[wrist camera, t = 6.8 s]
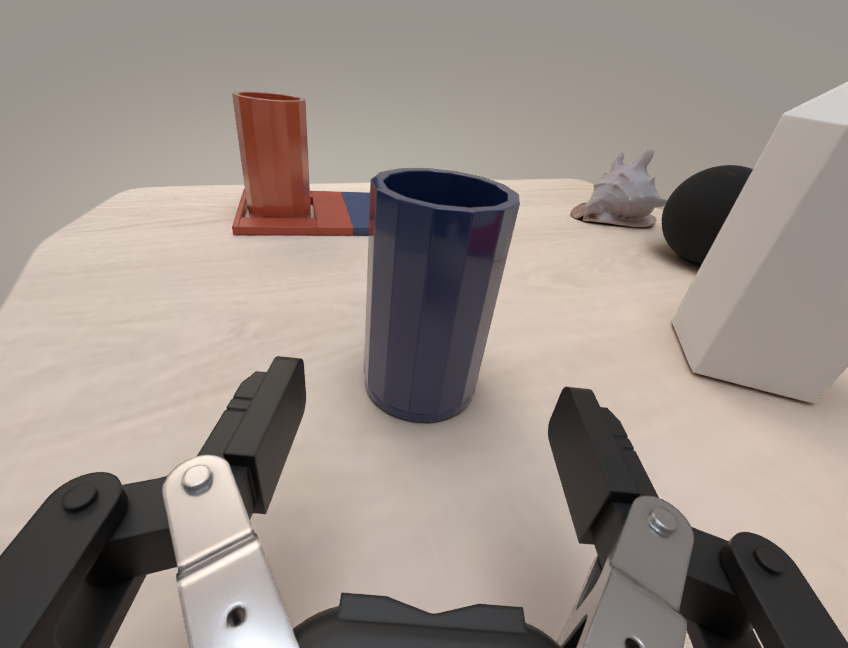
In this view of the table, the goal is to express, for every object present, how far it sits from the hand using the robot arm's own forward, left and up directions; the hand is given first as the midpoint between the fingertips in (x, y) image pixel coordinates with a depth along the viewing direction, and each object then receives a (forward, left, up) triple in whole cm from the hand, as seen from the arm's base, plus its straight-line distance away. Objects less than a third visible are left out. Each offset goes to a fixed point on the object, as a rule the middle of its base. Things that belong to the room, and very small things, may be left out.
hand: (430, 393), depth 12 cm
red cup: (-6, +36, -7) cm, 37 cm away
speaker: (+38, +23, -7) cm, 45 cm away
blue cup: (+2, +8, -7) cm, 11 cm away
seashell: (+37, +36, -7) cm, 52 cm away
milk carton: (+25, +7, -7) cm, 27 cm away
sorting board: (+1, +36, -7) cm, 36 cm away
